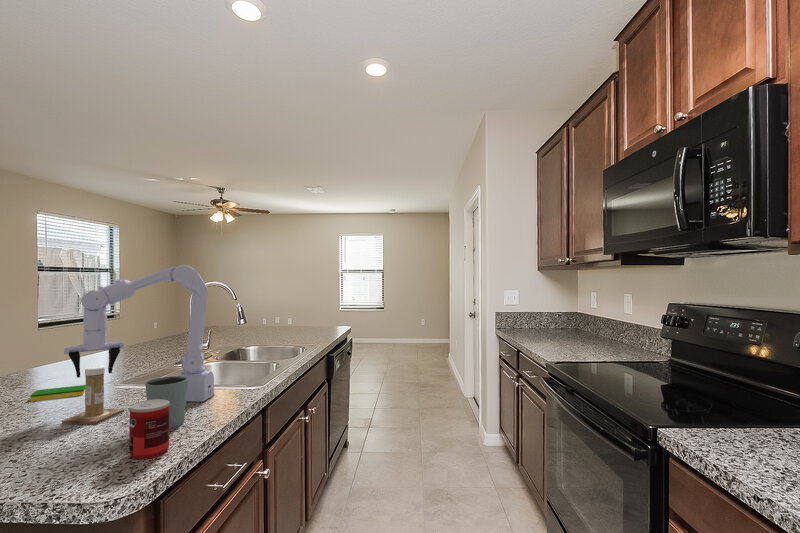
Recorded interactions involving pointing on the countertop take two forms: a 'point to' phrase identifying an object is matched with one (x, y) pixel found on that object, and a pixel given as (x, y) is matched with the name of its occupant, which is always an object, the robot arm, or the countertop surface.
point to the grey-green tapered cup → (170, 396)
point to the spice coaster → (94, 419)
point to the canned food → (149, 428)
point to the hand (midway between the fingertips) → (94, 374)
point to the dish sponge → (57, 393)
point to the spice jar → (94, 391)
